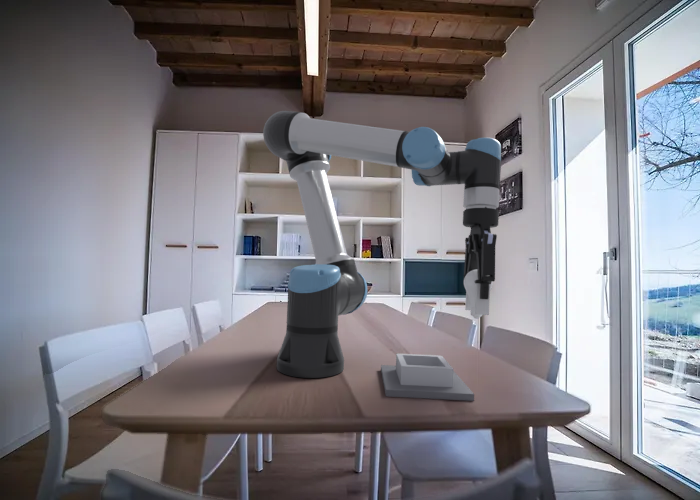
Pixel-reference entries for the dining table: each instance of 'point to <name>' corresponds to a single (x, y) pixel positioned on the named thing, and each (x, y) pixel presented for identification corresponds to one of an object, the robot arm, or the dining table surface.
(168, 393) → the dining table surface
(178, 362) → the dining table surface
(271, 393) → the dining table surface
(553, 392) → the dining table surface
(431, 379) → the lamp socket
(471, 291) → the lightbulb
